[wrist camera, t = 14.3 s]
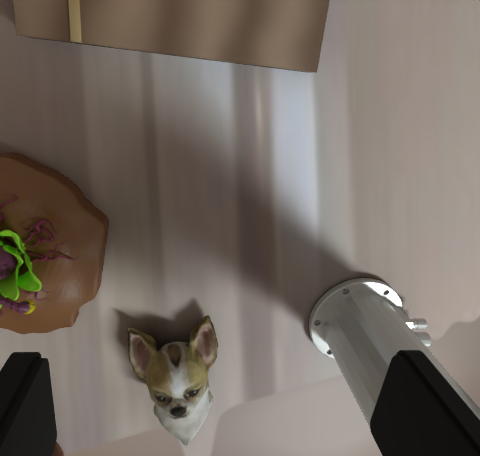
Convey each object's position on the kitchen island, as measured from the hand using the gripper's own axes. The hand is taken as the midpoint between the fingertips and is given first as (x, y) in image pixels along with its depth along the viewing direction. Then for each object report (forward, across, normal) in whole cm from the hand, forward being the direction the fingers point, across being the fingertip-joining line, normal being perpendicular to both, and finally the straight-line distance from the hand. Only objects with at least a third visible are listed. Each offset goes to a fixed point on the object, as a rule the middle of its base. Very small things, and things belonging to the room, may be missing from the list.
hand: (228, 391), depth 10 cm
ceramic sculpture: (+31, +1, +27) cm, 41 cm away
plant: (+31, +19, +11) cm, 38 cm away
